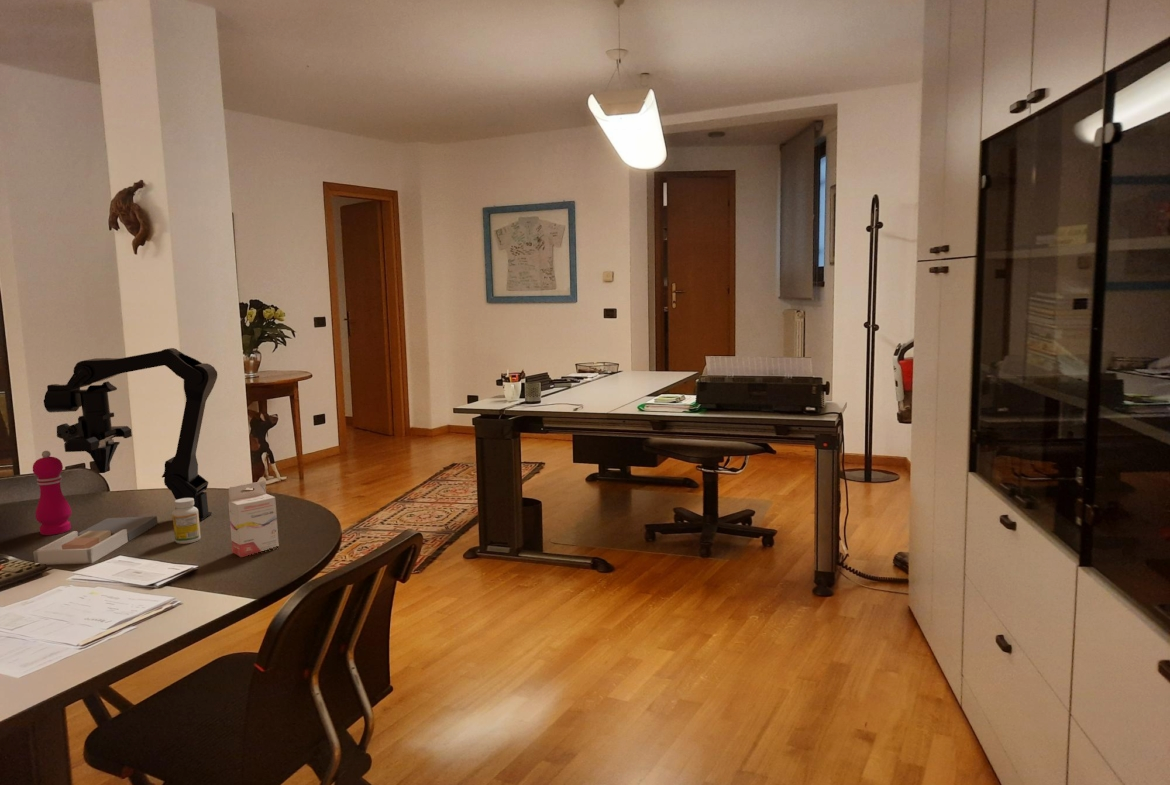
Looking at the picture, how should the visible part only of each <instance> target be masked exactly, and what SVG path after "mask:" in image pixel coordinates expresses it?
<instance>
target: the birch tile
mask: <svg viewBox="0 0 1170 785" xmlns="http://www.w3.org/2000/svg"><path fill="white" fill-rule="evenodd" d="M110 536H111V531H88V532H86V533H84V534H82V535H80V536H78V537H76V538H98V537H99V543H100V542H101V541H103V540H105V539H107V538H109V537H110ZM76 538H75V539H76Z"/></svg>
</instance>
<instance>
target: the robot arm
mask: <svg viewBox="0 0 1170 785" xmlns="http://www.w3.org/2000/svg"><path fill="white" fill-rule="evenodd" d="M163 366H165V367H167V368H168V369H169V370H170V371H171V372H172V373H174V374H175V375H176V376H177V377H179V378H180V379H182V380H183V391H184V394H185V406H184V410H183V415H182V421H181V426H180V431H179V436H178V442H177V447H176V452H175V455H174V456H173V457H170V458H169V459H167V460H165V461H164V472H163V474H162V475H161V478H164V479H163V481H164V482H163V484H164V486H165V487H166V488H167V489H168V490H170V491H171V493H172V495H173V497H174V499H175V500H178V499H182V498H193V499H194V505H193V506H194V507H196V508H197V509H198V513H199V522H201V521H203V520H205V519H206V518H208V517H210V514H211V515H212V514H213V513H212V511H209V504H208V503H209V502H208V494H207V490H208V486H209V481H208V480H206V479H205V478H204V477H202V476H201V475H200V474H199V464H198V459H197V449H198V443H199V439H200V434H201V428H202V424H203V418H204V412H205V409H206V408H205V407H206V403H207V400H208V398H209V397H210V395H211V393H212V390H213V389H214V386H215V384H216V381H217V379H218V371H217V370H216V368H215V367H214V366H213V365H211V364H210V363H207V362H206V363H205V362H203V363H202V362H201V361H199V360H198V359H196V358H193V357H191V356H189V355H187V354H184V353H183V352H181V351H180V350H178V349H177V348H173V347H169V348H165V349H162V350H159V351H154V352H149V353H143V354H137V355H132V356H127V357H121V358H110V357H108V358H107V357H105V358H104V357H102V358H97V357H96V358H90V359H89V358H88V359H85V360H81V361H78V362H77V363H76V364H75V366H74V368H73V374H72V375H71V377H70V378H69V379H68V381H67V383H66V384H57V383H54V384H53V383H52V384H47V386H46V387H47V388H46V389H47V390H46V392H45V394H44V399H43V405H44V409H45V410H46V412H48V413H67V412H68V413H70V412H77V411H78V410H79V409H80V407H81V411H82V415H80V416H78V417H77V423H73V424H71V425H70V424H68V423H65V422H64V423H62V424H59V425H57V426H56V437H57V438H59V439H60V440H61V439H62V440H63V442H64V443H63V448H64V452H65V453H73V452H74V453H75V452H76V453H77V452H80V453H81V452H86V453H87V454H89V455H90V456H91V459H92V460H93V461H94V463H95V466H96V467H97V469H98V472H99V473H100V474H105V473H107V471H108V469H109V467H110V465H111V462H112V459H113V457H114V455H115V452H116V450H117V448H118V446H119V445H120V441H114V439H113V438H123V439H128V438H131V437H132V436H133V434H132V428H130V426H128V425H118V426H117V425H116V426H115V425H113V426H112V419H111V418H113V417H115V413H114V412H111V410H110V401H109V393H110V392H115V391H117V390H118V387H116V386H115V385H113V384H112V383H111V382H110V381H109V380H108V379H110V378H113V377H115V376H119V375H121V374H124V373H130V372H134V371H135V372H136V371H140V370H146V369H152V368H157V367H163ZM105 380H108V381H105ZM102 381H104V382H103V383H101V384H94V383H99V382H102ZM93 384H94V385H93ZM83 387H84V388H85V387H87V389H81V388H83ZM174 507H175V506H174ZM175 509H176V507H175ZM175 509H174V510H175ZM207 516H208V517H207Z"/></svg>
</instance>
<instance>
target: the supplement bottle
mask: <svg viewBox="0 0 1170 785" xmlns="http://www.w3.org/2000/svg"><path fill="white" fill-rule="evenodd" d="M193 505H194V499H193V498H182V499H178V500H176V499H175V500H174V507H176V509H174V510H173V511H172V514H171V515H172V524H173V532H174V541H175V543H176V544H179V545H181V544H183V545H184V544H185V545H186V544H192V543H195V542H197V541H200V540H201V538H202V536H201V525H200V521H199V513H198V509H197V508H196V507H194V506H193Z"/></svg>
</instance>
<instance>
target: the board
mask: <svg viewBox="0 0 1170 785" xmlns="http://www.w3.org/2000/svg"><path fill="white" fill-rule="evenodd" d="M156 524H157V525H158V524H159V523H158V516H156V515H155V516H153V515H152V516H132V517H131V516H127V517H107V518H105V519H104V520H101V521H99V522H98V523H96V524H94V525H91V526H89V527H88V528H86V529H84V530H81V531H80V532H77V533H78V536H80V535H82V534H84V533H86V532H88V531H111V536H112V535H114V534H116V533H117V532H119V531H121V530H123V529H127V538H128V542H130V541H132V540H134V539H135V538H137V537H139V536H140V535H142V534H143V533H146V532H147V531H149V530H151V528H154V527H156V526H157V525H156ZM155 525H156V526H155ZM153 526H154V527H153ZM148 529H149V530H148Z"/></svg>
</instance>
